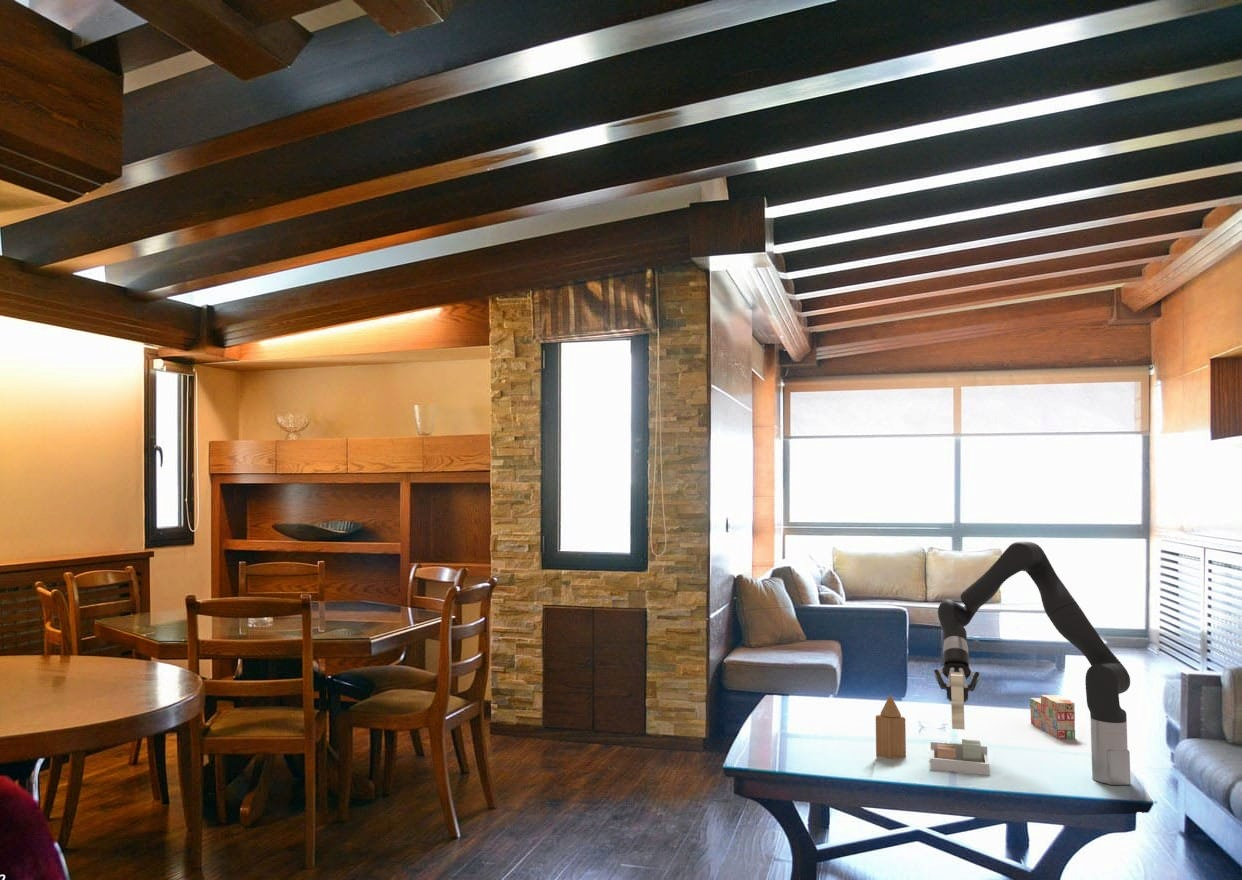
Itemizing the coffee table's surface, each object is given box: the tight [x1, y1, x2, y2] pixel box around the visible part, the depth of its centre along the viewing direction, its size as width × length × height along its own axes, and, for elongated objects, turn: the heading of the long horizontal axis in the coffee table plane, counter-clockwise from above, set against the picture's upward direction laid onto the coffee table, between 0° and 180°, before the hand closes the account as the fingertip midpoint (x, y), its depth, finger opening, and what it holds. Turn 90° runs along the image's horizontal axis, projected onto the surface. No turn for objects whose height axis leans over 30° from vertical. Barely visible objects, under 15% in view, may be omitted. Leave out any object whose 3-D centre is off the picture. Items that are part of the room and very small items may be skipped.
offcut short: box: [938, 744, 956, 760], centre depth 266 cm, size 5×5×5 cm
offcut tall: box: [961, 738, 982, 762], centre depth 264 cm, size 6×5×7 cm
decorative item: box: [875, 693, 907, 760], centre depth 276 cm, size 7×7×20 cm
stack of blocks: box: [1029, 694, 1076, 740], centre depth 314 cm, size 21×6×12 cm, turn 178°
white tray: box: [929, 738, 991, 776], centre depth 270 cm, size 24×16×6 cm, turn 160°
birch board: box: [950, 672, 966, 731], centre depth 276 cm, size 7×4×16 cm, turn 160°
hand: (957, 700), depth 274 cm, fingers closed on birch board, 3 cm apart
